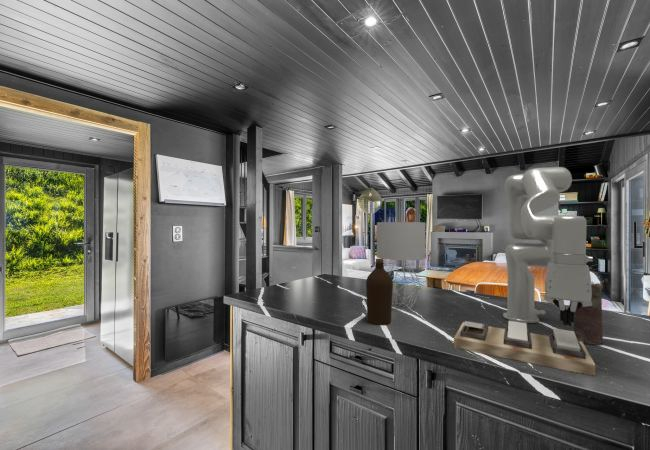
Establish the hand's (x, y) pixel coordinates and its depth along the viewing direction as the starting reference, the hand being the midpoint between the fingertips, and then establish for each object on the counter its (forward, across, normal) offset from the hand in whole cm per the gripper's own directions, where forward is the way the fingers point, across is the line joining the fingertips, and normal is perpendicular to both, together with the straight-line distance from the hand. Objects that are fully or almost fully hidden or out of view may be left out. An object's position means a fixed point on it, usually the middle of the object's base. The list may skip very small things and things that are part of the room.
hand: (566, 323), depth 87 cm
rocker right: (+6, 0, -3) cm, 7 cm away
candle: (+12, -8, -24) cm, 28 cm away
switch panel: (+11, +12, -3) cm, 16 cm away
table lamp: (+13, +59, -32) cm, 68 cm away
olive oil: (+12, +58, -5) cm, 60 cm away
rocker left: (+6, +24, -3) cm, 25 cm away
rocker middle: (+6, +12, -3) cm, 14 cm away
